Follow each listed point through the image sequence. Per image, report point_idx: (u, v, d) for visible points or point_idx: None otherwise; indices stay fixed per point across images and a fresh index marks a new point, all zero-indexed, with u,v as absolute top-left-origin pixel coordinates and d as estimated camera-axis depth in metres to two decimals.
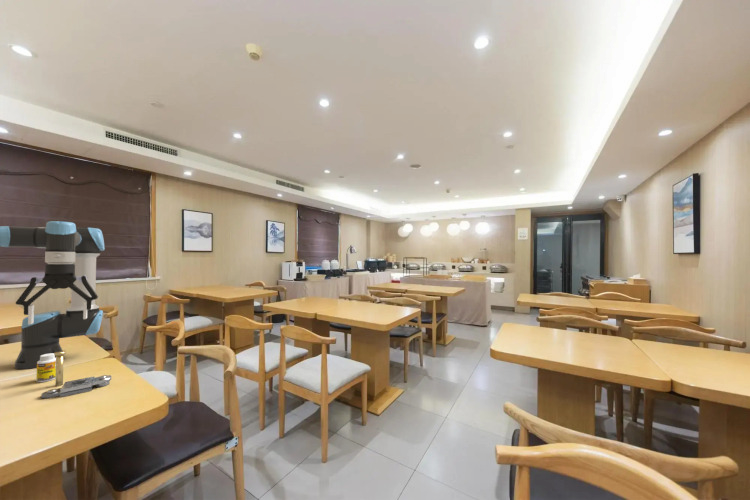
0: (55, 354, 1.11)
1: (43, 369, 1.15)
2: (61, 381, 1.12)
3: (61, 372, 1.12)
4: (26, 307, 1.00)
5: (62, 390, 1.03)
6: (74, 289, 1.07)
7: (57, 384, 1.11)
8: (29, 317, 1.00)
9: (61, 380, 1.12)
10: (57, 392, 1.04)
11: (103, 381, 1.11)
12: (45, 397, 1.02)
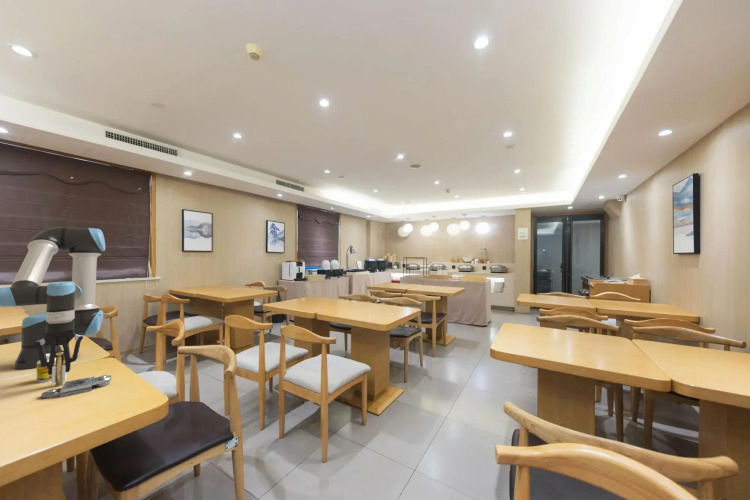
0: (55, 354, 1.11)
1: (43, 369, 1.15)
2: (61, 381, 1.12)
3: (61, 372, 1.12)
4: (50, 368, 1.10)
5: (62, 390, 1.03)
6: (65, 348, 1.12)
7: (57, 384, 1.11)
8: (53, 377, 1.10)
9: (61, 380, 1.12)
10: (57, 392, 1.04)
11: (103, 381, 1.11)
12: (45, 397, 1.02)
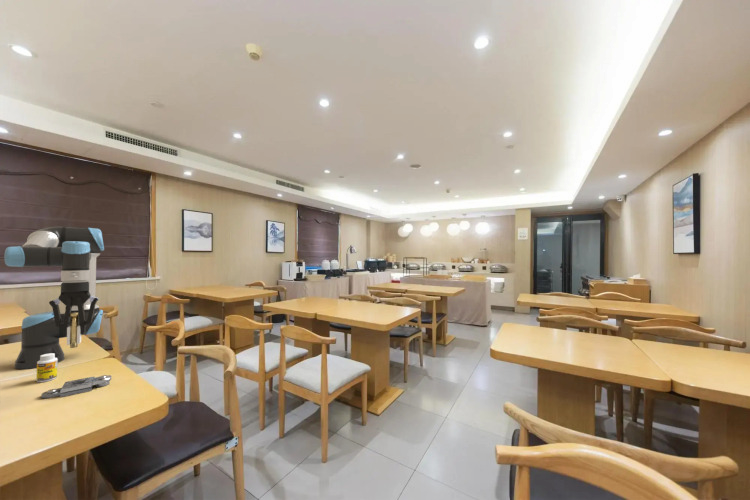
0: (70, 315, 1.08)
1: (43, 368, 1.15)
2: (76, 343, 1.09)
3: (76, 334, 1.09)
4: (65, 329, 1.07)
5: (62, 390, 1.03)
6: (79, 309, 1.09)
7: (72, 346, 1.08)
8: (68, 338, 1.07)
9: (76, 342, 1.09)
10: (57, 392, 1.04)
11: (103, 381, 1.11)
12: (45, 397, 1.02)
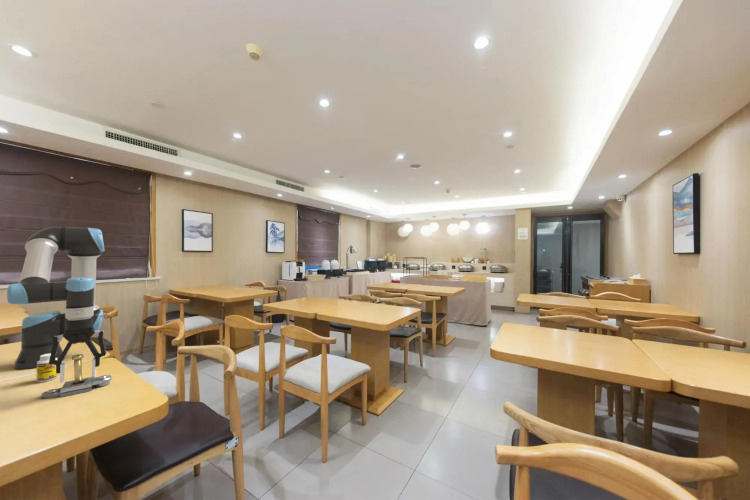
0: (73, 358, 1.07)
1: (43, 369, 1.15)
2: None
3: (80, 376, 1.08)
4: (58, 366, 1.05)
5: (62, 390, 1.03)
6: (88, 344, 1.10)
7: None
8: (61, 376, 1.05)
9: None
10: (57, 392, 1.04)
11: (103, 381, 1.11)
12: (45, 397, 1.02)
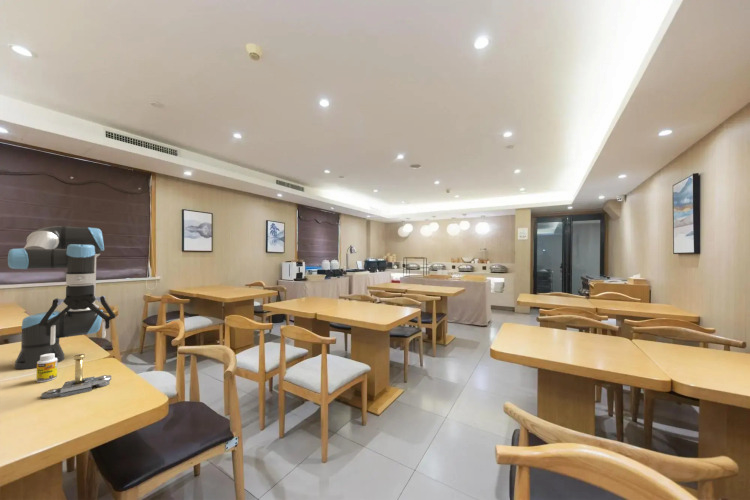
0: (74, 358, 1.07)
1: (43, 369, 1.15)
2: None
3: (80, 376, 1.08)
4: (48, 328, 1.04)
5: (62, 390, 1.03)
6: (93, 309, 1.11)
7: None
8: (51, 338, 1.04)
9: None
10: (57, 392, 1.04)
11: (103, 381, 1.11)
12: (45, 397, 1.02)
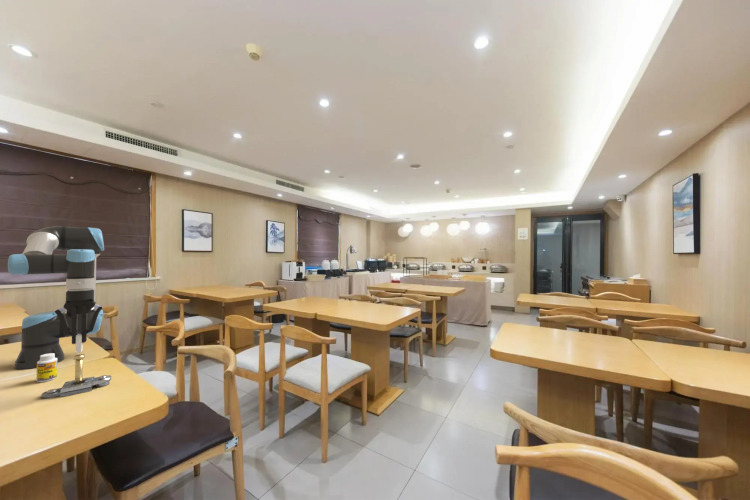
0: (74, 358, 1.07)
1: (43, 369, 1.15)
2: None
3: (80, 376, 1.08)
4: (74, 337, 1.07)
5: (62, 390, 1.03)
6: (83, 317, 1.09)
7: None
8: (76, 346, 1.07)
9: None
10: (57, 392, 1.04)
11: (103, 381, 1.11)
12: (45, 397, 1.02)
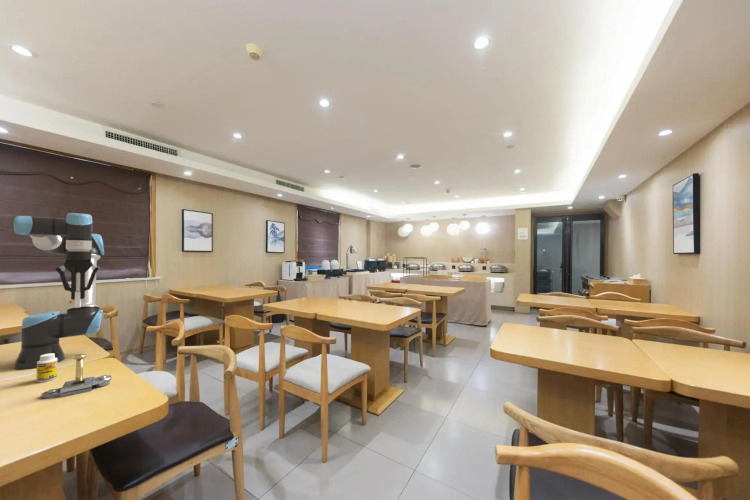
0: (75, 357, 1.07)
1: (43, 369, 1.15)
2: None
3: (81, 376, 1.09)
4: (73, 293, 1.18)
5: (62, 390, 1.03)
6: (81, 276, 1.19)
7: None
8: (75, 301, 1.18)
9: None
10: (57, 392, 1.04)
11: (103, 381, 1.11)
12: (45, 397, 1.02)
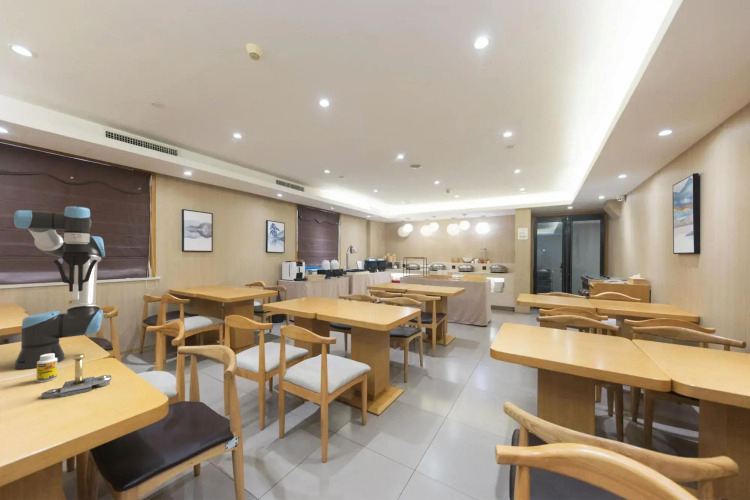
0: (74, 358, 1.07)
1: (43, 369, 1.15)
2: None
3: (80, 376, 1.08)
4: (71, 285, 1.19)
5: (62, 390, 1.03)
6: (79, 268, 1.21)
7: None
8: (73, 293, 1.19)
9: None
10: (57, 392, 1.04)
11: (103, 381, 1.11)
12: (45, 397, 1.02)
